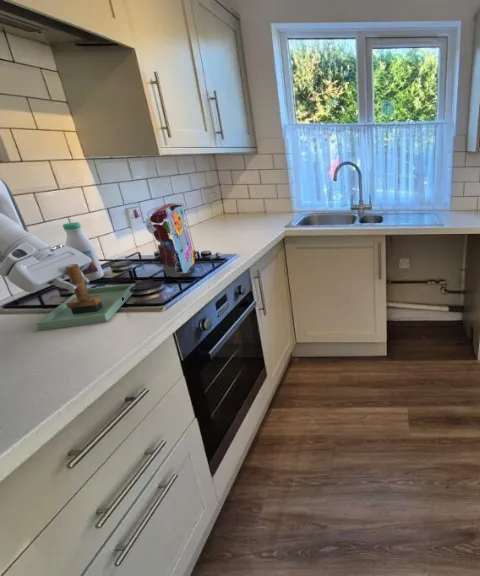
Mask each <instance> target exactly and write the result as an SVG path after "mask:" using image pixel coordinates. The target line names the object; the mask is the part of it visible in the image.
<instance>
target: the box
mask: <svg viewBox="0 0 480 576" xmlns="http://www.w3.org/2000/svg"><path fill="white" fill-rule="evenodd" d="M184 208H185V206H184V203H182V202H181V203H180V202H177V203H175V202H173V203H172V202H171V203H166V204H163V205H160V206H158V207H154V208H152V209H150V210H148V212H147V214H146V215H147V218H146V219H145V228H146V230H147V231H148V233H149V234H151V235H152V239H153V243H154V245H155V248H156V251H157V253H158V258H159V262H160V263H161V264H160V265H161V269H162V271H163V275H164V276H165V277H166V278H167V281H169V282H172V280H171V279H170V278H172V277H175V276H176V275H177V273H178V274H179V271H180V270H181V274H182V275H184V274H185V273H187V274H186V276H185V277H184V278H182V279H178V280H176V282H179V281H182V280H184V279H186V277H187V276H189V275H190V274H191V272H192V271H194V270H195V269H196V268H197V266H194V264H195V263H196V264H197V260H198V258H197V257H195V255H197V253H196V251H195V246H193V245H194V241H193V240H191V239H192V235H191V233H189V232H191V231H190V229H188V228H190V226H189V221H188V219H187V218H188V217H187V215H186V214H185V213H186V210H185V209H184ZM167 210H168V211H167ZM152 211H153V212H152ZM149 215H151V216H149ZM166 220H167V221H166ZM170 234H171V235H172V238H173V239H171V236H170ZM156 241H157V242H158V243H159V244H156ZM178 261H179V265H178ZM177 265H178V266H177ZM193 266H194V267H193ZM179 267H180V269H178V268H179ZM191 267H193V268H192V269H191ZM190 269H191V270H190Z"/></svg>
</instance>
